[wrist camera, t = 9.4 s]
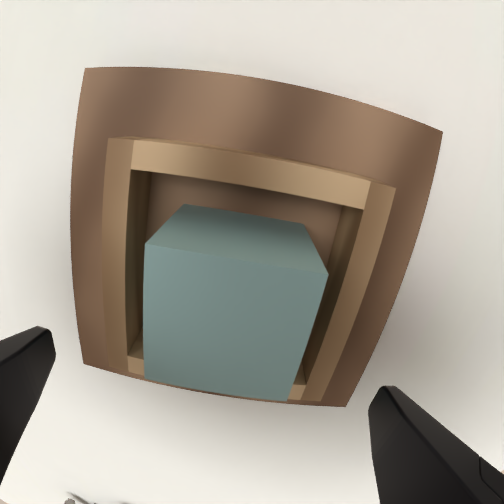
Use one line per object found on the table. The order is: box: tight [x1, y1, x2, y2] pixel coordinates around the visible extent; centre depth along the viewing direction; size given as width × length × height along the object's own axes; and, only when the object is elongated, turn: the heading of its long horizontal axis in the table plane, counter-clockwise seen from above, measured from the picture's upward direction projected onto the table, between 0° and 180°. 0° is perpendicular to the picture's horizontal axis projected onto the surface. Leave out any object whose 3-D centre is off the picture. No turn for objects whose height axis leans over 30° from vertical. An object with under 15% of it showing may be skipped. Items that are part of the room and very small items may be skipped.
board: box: [70, 67, 443, 407], centre depth 13 cm, size 16×16×4 cm
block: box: [143, 204, 329, 401], centre depth 12 cm, size 5×5×5 cm
